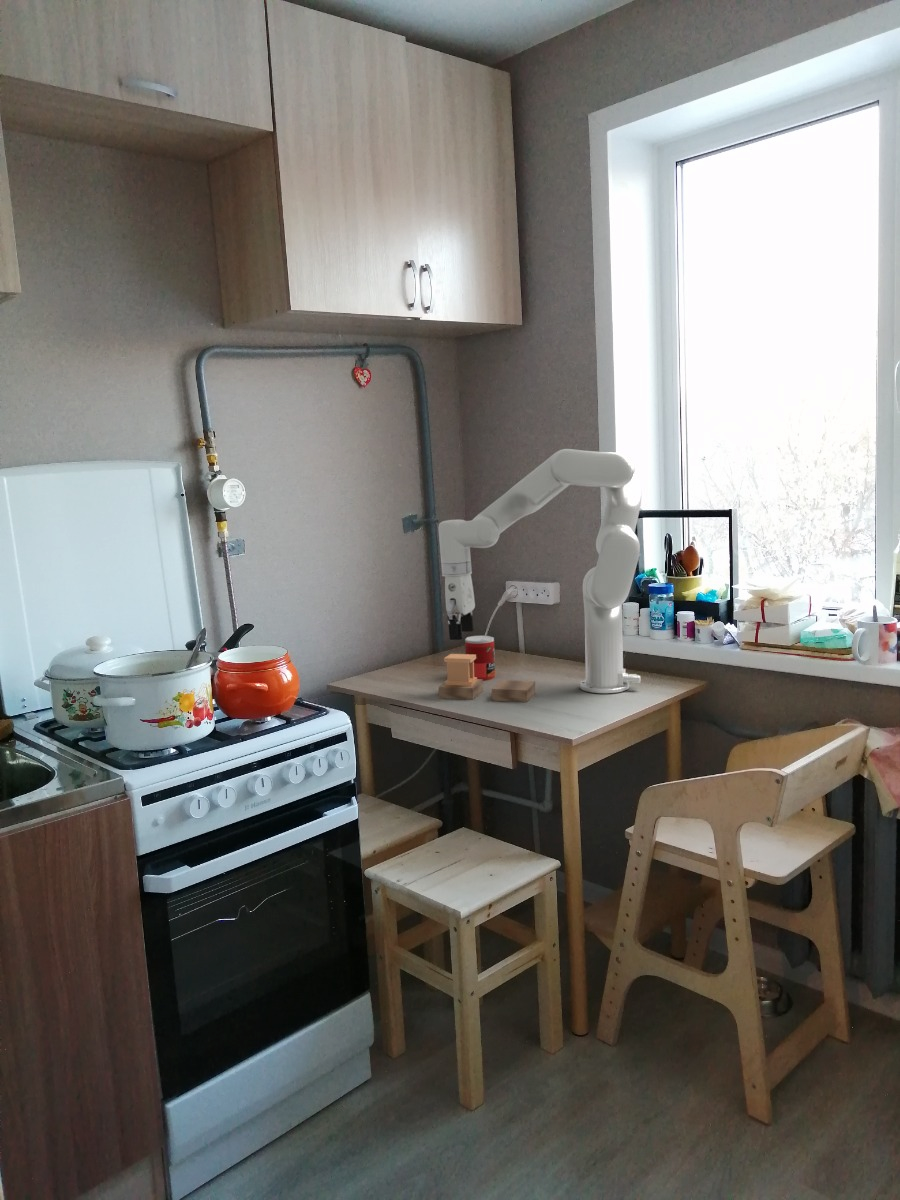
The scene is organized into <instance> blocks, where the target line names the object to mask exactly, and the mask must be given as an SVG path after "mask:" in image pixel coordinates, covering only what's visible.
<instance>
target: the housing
mask: <svg viewBox="0 0 900 1200" xmlns="http://www.w3.org/2000/svg"><path fill="white" fill-rule="evenodd" d="M443 658H444V659H443V660H444V663H446V673H447V679H446V680H445V681H444V682H445V685H461V686H472V685H473V684H474V683H475V682H477V677H474V660H475V659H476V655H472V654H466V653H450V654H448V655H447V656H445V657H443Z"/></svg>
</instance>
